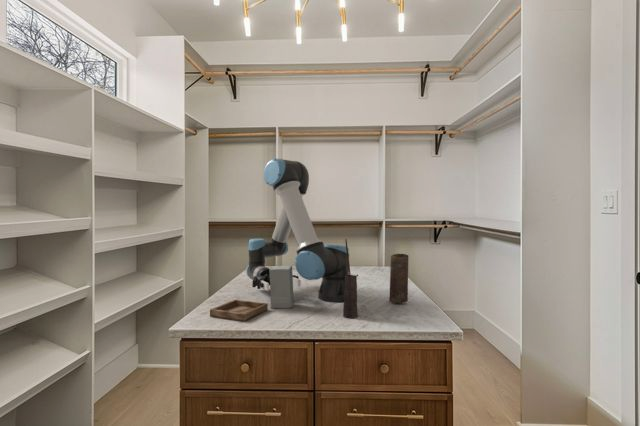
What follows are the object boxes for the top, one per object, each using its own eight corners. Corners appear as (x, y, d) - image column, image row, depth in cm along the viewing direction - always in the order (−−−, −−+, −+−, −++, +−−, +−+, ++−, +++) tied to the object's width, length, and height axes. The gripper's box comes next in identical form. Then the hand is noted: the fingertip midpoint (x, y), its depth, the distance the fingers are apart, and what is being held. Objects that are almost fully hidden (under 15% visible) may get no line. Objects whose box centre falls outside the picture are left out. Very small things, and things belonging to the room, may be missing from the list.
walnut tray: (267, 310, 134) (267, 303, 134) (244, 321, 120) (244, 314, 120) (235, 305, 140) (235, 299, 139) (209, 316, 126) (209, 309, 126)
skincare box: (293, 304, 142) (293, 265, 142) (290, 309, 135) (290, 268, 134) (273, 303, 143) (273, 265, 142) (269, 308, 136) (269, 268, 135)
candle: (411, 303, 144) (411, 254, 143) (402, 306, 138) (402, 256, 138) (395, 299, 149) (395, 252, 149) (385, 303, 144) (386, 254, 143)
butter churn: (369, 314, 129) (369, 238, 128) (361, 321, 120) (361, 240, 119) (345, 311, 132) (346, 237, 132) (336, 318, 124) (336, 239, 123)
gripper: (289, 281, 161) (312, 290, 143) (236, 287, 149) (253, 298, 130) (289, 265, 161) (312, 272, 143) (236, 269, 148) (253, 278, 130)
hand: (284, 285), depth 136 cm, fingers open, 13 cm apart
